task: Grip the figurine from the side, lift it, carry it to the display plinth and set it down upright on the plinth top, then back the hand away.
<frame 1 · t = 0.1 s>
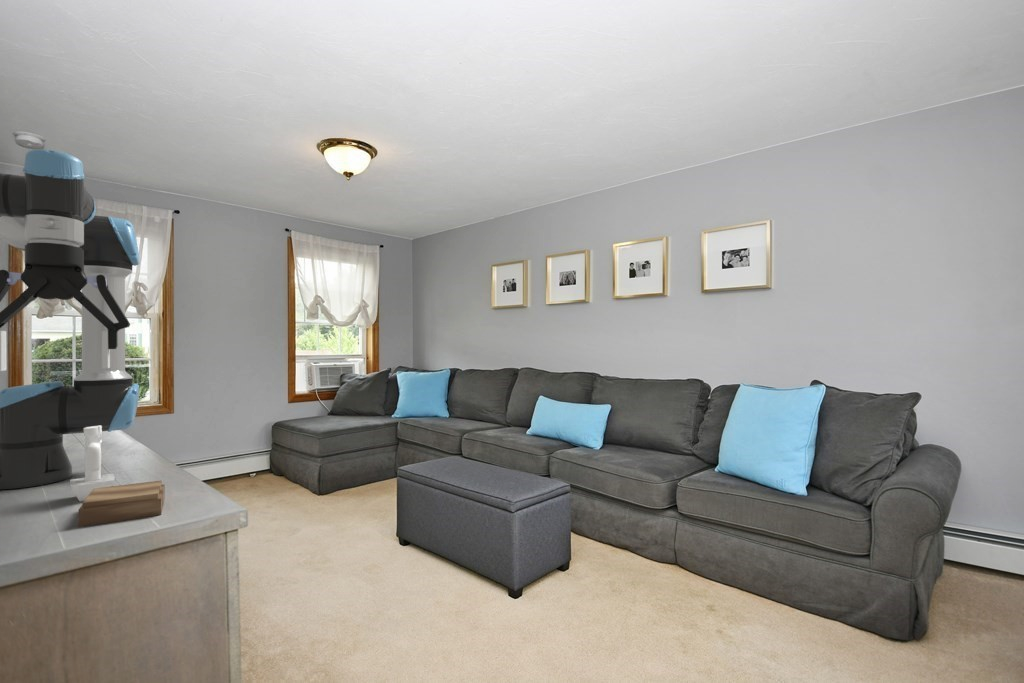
hand: (55, 369, 87), 28 cm above the table, tool pointing down, fingers open, 13 cm apart
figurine: (92, 498, 108), on the table
plinth: (125, 511, 98), on the table
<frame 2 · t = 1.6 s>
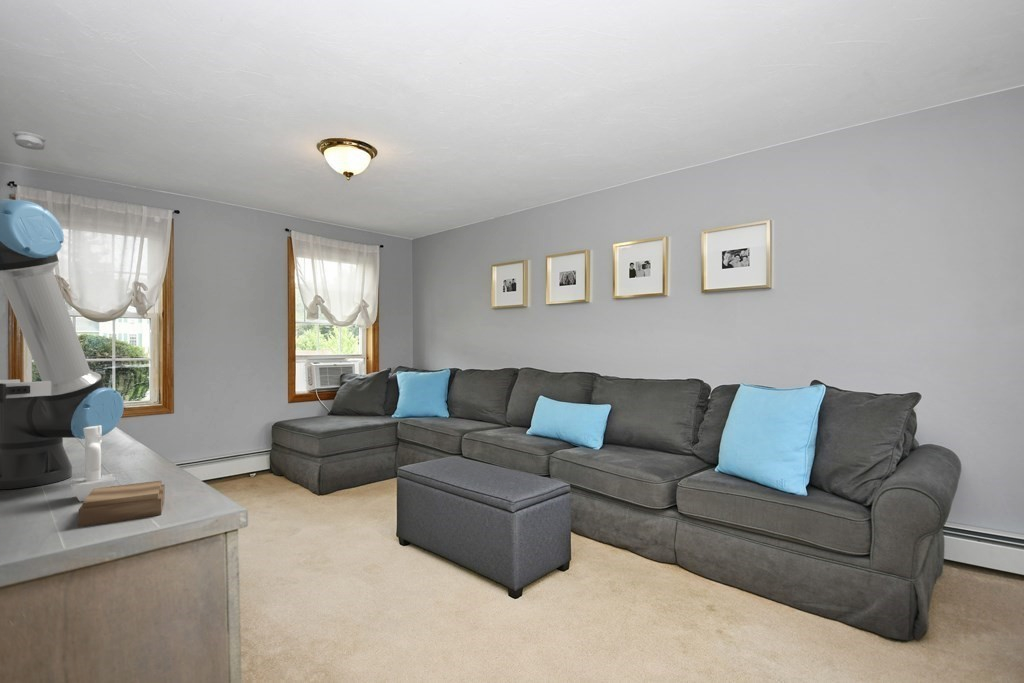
hand: (34, 387, 100), 24 cm above the table, tool horizontal, fingers open, 13 cm apart
nothing on the table moved.
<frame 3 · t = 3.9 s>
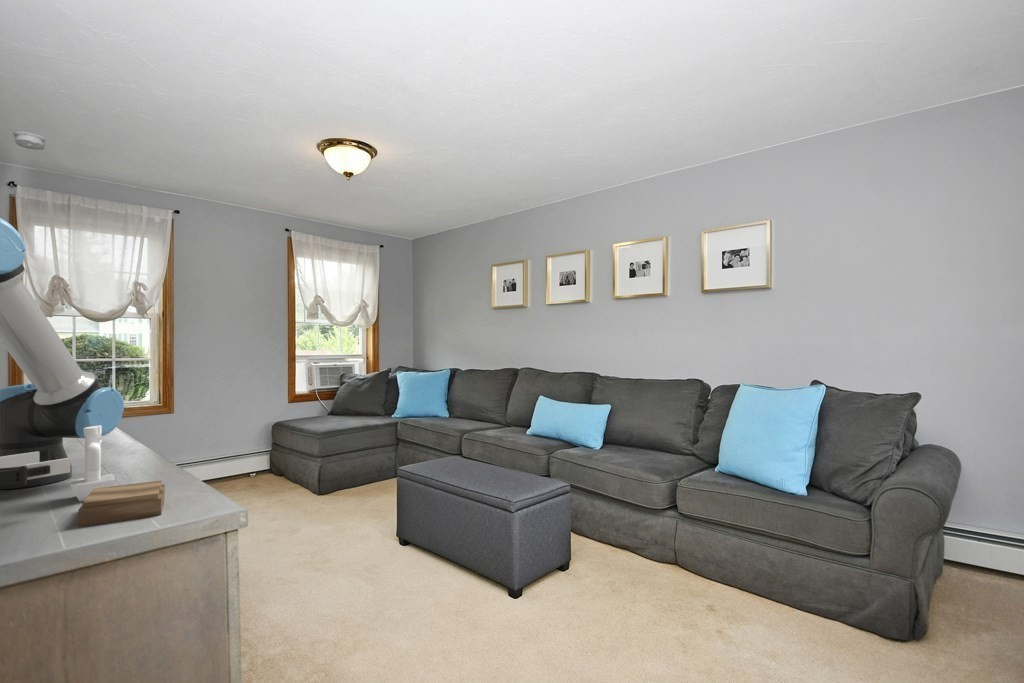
hand: (53, 461, 102), 9 cm above the table, tool horizontal, fingers open, 13 cm apart
nothing on the table moved.
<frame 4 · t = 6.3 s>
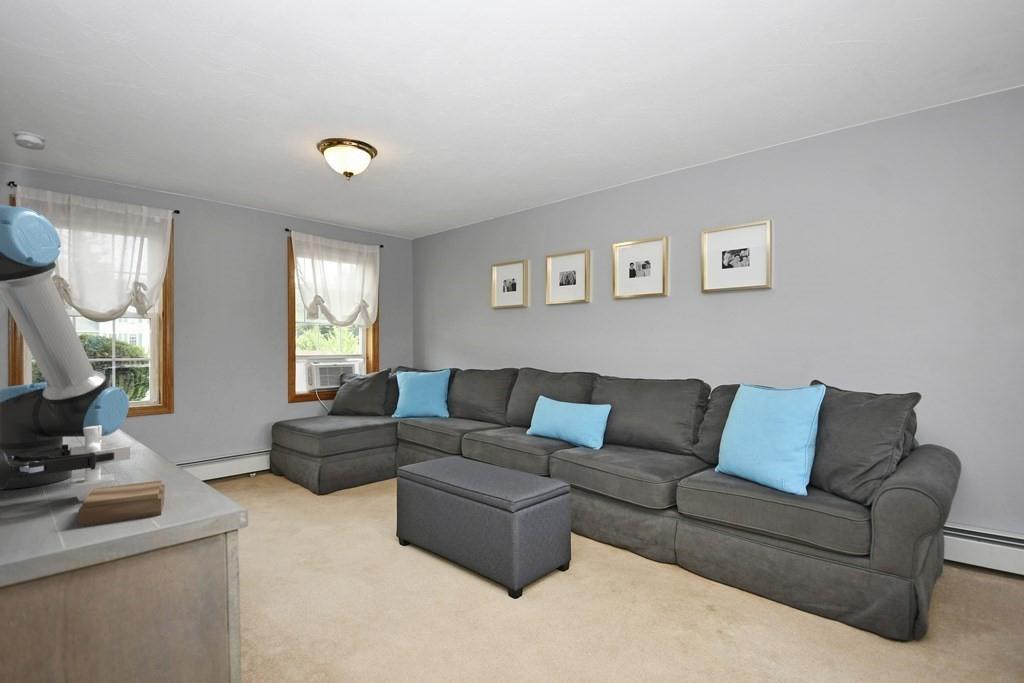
hand: (117, 450, 112), 9 cm above the table, tool horizontal, fingers closed on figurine, 9 cm apart
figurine: (92, 498, 108), on the table, touching gripper
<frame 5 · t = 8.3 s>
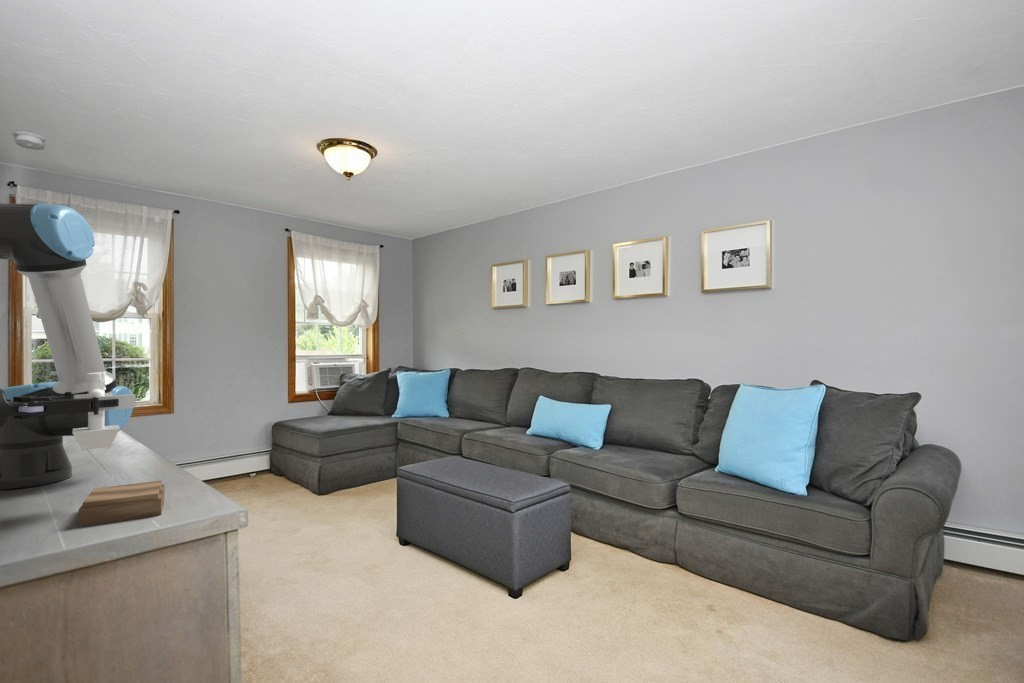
hand: (122, 399, 107), 21 cm above the table, tool horizontal, fingers closed on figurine, 9 cm apart
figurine: (96, 447, 103), point 11 cm above the table, touching gripper
when the fingers open (14 cm above the table, at t = 10.4 s): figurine drops 1 cm, resting on plinth.
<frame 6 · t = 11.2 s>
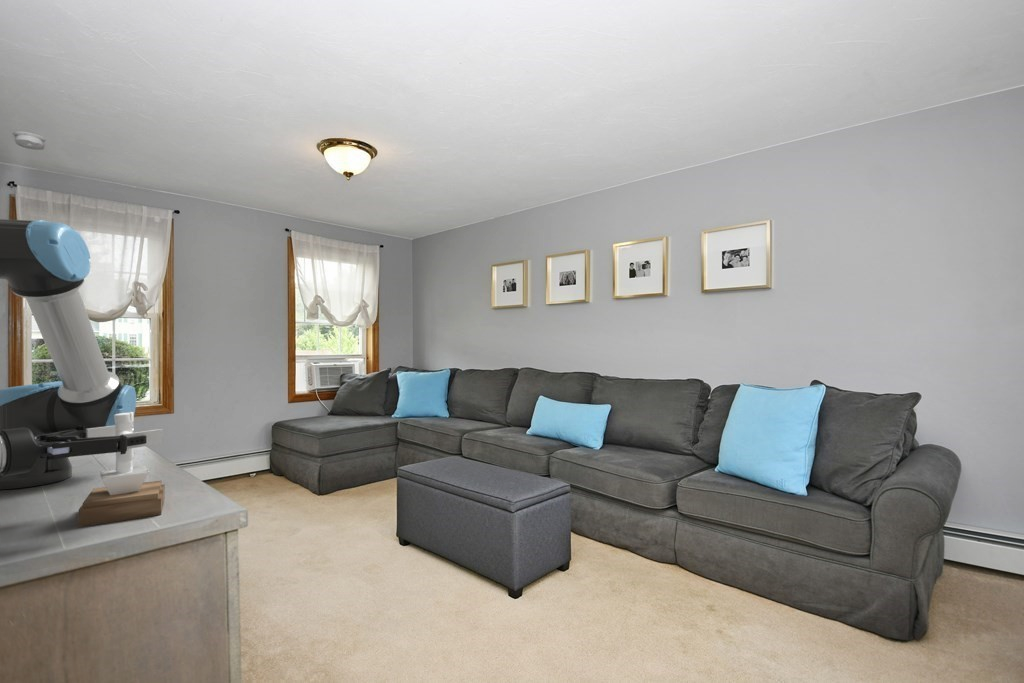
hand: (143, 433, 101), 15 cm above the table, tool horizontal, fingers open, 13 cm apart
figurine: (124, 491, 98), point 4 cm above the table, touching plinth
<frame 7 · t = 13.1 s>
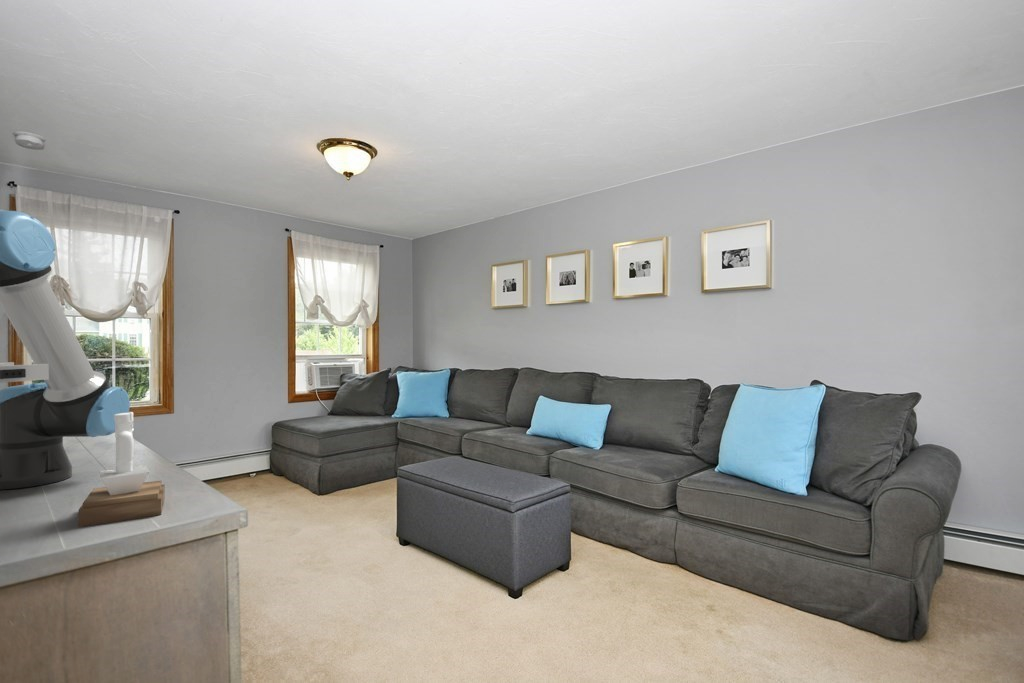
hand: (30, 370, 92), 28 cm above the table, tool horizontal, fingers open, 13 cm apart
nothing on the table moved.
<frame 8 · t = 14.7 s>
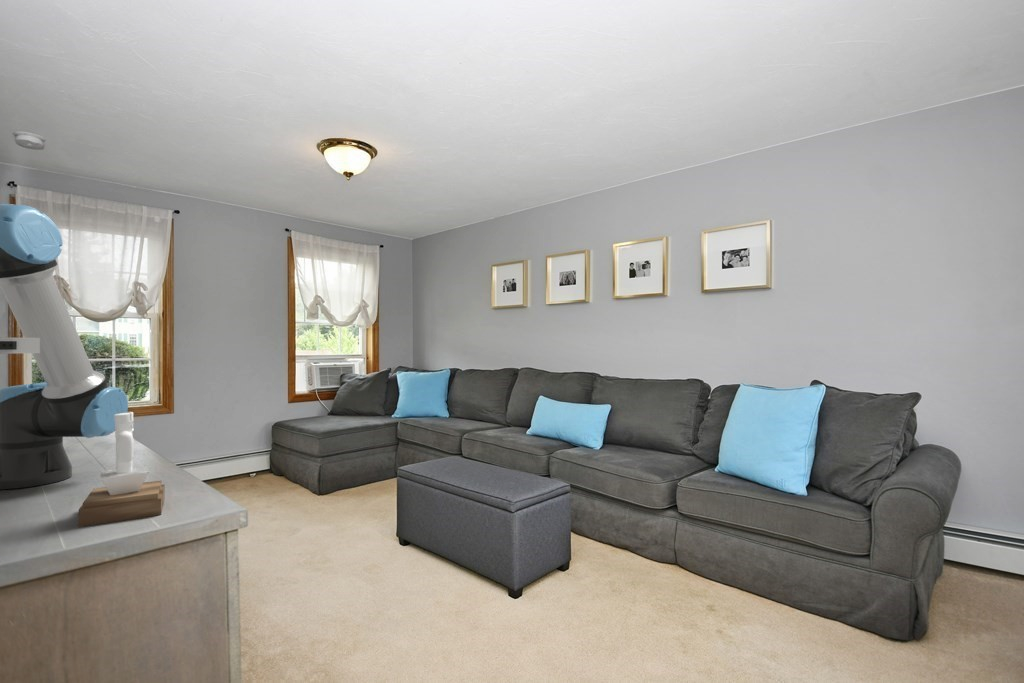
hand: (22, 345, 93), 32 cm above the table, tool horizontal, fingers open, 13 cm apart
nothing on the table moved.
at the end: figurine tilted 0°; the gripper is holding nothing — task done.
